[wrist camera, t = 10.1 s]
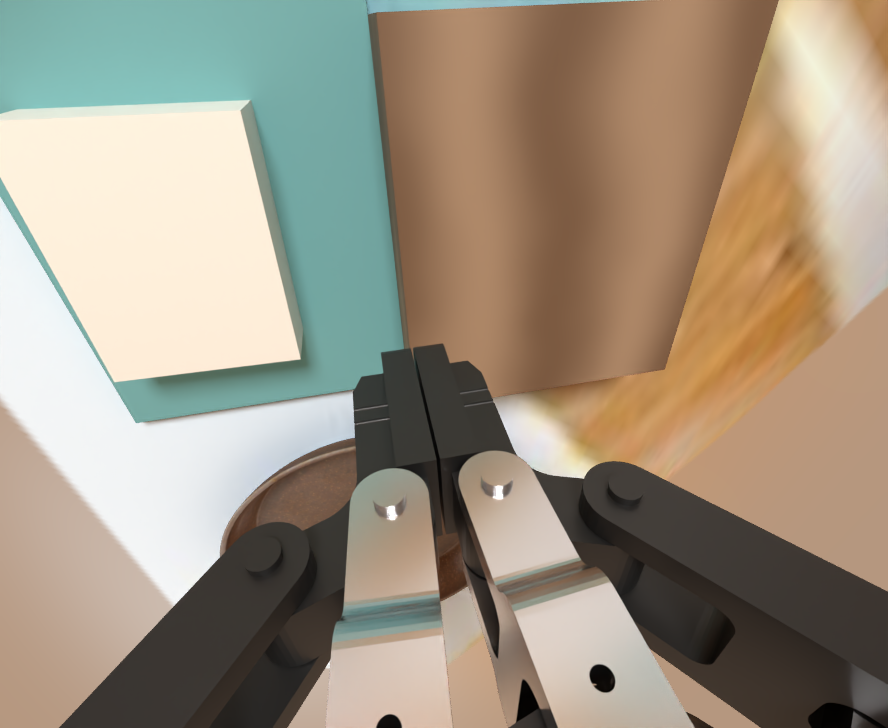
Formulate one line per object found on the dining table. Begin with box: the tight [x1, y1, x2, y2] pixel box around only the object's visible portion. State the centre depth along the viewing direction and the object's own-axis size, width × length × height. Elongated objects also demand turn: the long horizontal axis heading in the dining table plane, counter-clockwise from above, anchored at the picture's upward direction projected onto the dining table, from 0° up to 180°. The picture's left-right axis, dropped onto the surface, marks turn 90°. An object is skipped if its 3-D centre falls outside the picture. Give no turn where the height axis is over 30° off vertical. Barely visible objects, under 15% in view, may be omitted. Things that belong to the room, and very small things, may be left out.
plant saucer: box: [220, 438, 468, 601], centre depth 29 cm, size 18×18×3 cm
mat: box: [0, 0, 404, 423], centre depth 18 cm, size 13×16×1 cm
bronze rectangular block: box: [368, 0, 779, 398], centre depth 19 cm, size 12×14×4 cm
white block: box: [0, 100, 303, 382], centre depth 17 cm, size 7×9×2 cm
